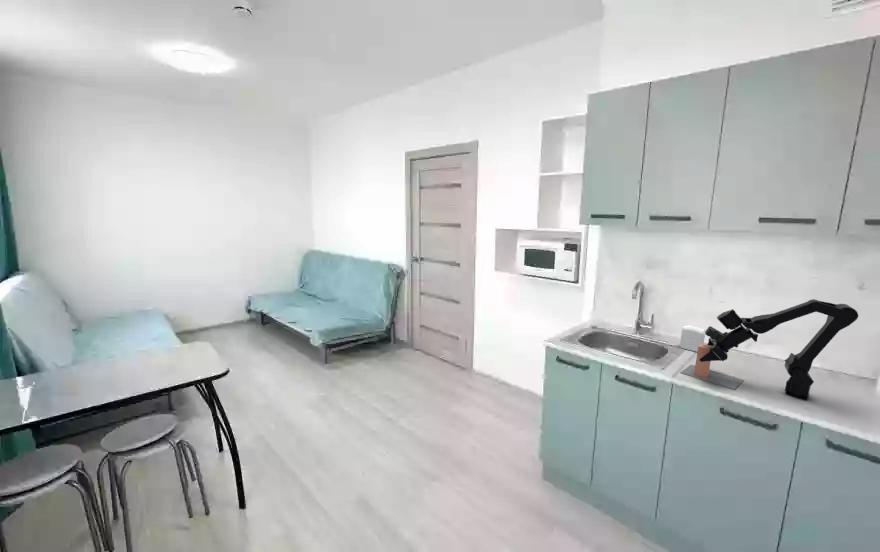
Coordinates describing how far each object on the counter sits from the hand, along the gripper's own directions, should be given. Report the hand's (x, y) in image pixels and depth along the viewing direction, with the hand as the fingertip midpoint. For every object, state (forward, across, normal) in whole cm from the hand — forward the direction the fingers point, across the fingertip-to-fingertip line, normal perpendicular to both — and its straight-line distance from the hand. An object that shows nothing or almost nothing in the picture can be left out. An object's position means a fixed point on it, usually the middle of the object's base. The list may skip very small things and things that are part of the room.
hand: (699, 357), depth 172 cm
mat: (+2, -1, +9) cm, 10 cm away
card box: (+4, 0, +6) cm, 8 cm away
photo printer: (+8, -33, +4) cm, 34 cm away
